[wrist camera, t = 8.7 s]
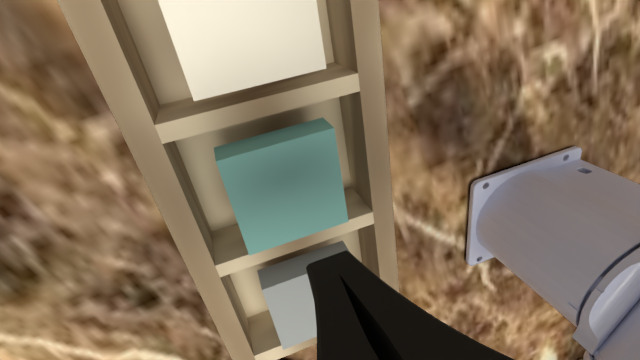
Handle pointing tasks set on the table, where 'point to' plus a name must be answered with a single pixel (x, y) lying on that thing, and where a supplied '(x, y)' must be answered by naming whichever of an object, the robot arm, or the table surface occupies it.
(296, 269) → the slate key
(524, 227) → the robot arm
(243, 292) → the key box
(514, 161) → the table surface
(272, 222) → the teal key
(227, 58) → the ivory key
